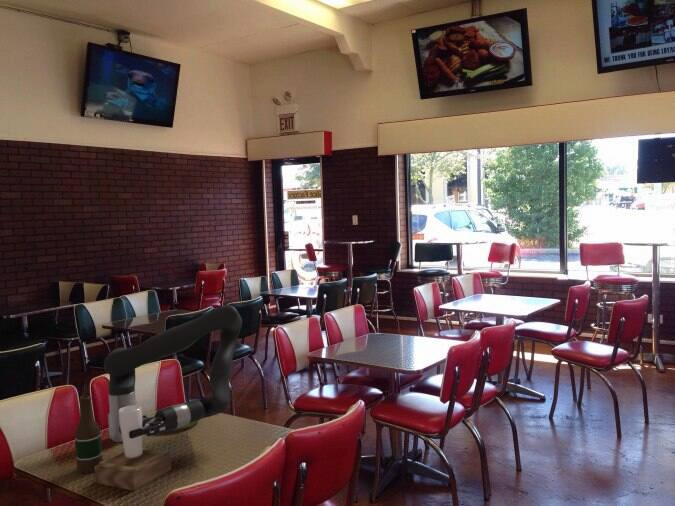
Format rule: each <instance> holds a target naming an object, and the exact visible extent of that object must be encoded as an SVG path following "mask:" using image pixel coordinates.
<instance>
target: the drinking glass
mask: <svg viewBox="0 0 675 506" xmlns="http://www.w3.org/2000/svg"><path fill="white" fill-rule="evenodd" d="M142 416H143V413H142V406H141V405H137V404H136V405H131V406H126V407H123V408H121V409H119V423H120V429H121V434H122V440H123V442H122V443H123V445H122V446H123V451H124V453H125V457H127V458H135V457H138V456H140V455H141V454H142V453H143V449H142V448H143V436H142V435H141V436H138V437H135V438H132V439H131V438H129V432H130V431H132V430H136V429H139V428H141V429H142Z"/></svg>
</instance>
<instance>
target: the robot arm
mask: <svg viewBox="0 0 675 506" xmlns="http://www.w3.org/2000/svg"><path fill="white" fill-rule="evenodd" d="M242 325H243V319H242V317H241V315H240V313H239V311H238V310H237V309H236V307H234V306H233V305H229V304H227V305H222V306H219V307H216V308H215V309H212V310H211V311H210V312H207V313H205V314H203V315H201V316H199V317H198V318H195V319H191V320H189V321H187V322H184V323H181V324H179V325H177V326H173V327H171V328H169V329H166V330H164V331H162V332H159V333H158V334H156V335H154V336H152V337H150V338H148V339H146V340H145V341H144V342H141V343H140V344H138V345H134V346H132V347H129V348H127V347H118V348H115V349H112V351H111V352H109V353H108V355H107V356H106V358H105V360H104V362H103V368H104V369H103V370H104V372H105V373H107V374H108V375H109V382H108V387H107V391H108V392H107V393H108V404H109V413H107V418H108V419H107V420H108V430H109V431H108V432H109V433H108V434H109V439H110V440H111V441H112V442H116V443H123V440H122V434H121V429H120V423H119V409H121V408H123V407H126V406H131V405H137V400H136V398H137V397H136V369H137V368H140V367H141V366H143V365H145V364H146V365H147V364H148V363H151V362H155V361H157V360H161V359H164V358H167V357H169V356H172V355H175V354H178V353H180V352H183V351H184V350H187V349H188V348H191V346H193V345H194V344H195V343H196V342H197V341H198V340H199V339H200V338H202V337H204V336H205V335H207V334H209V333H213V332H214V331H218V330H219V343H218V344H219V345H218V349H217V351H216V353H215V355H214V357H213V359H212V363H211V368H210V374H209V381H208V382H209V383H208V384H209V385H210V387H211V388H212V394H210V395H207V396H205V397H202V398H199V399H194V400H190V401H185V402H183V403H178V404H173V405H170V406H166V407H164V408H160V409H158V410H156V412H155V413H154V414H155V416H154V417H152V416H151V415H150V416H151V417H150V416H147V415H146V414H144V415H142V429H141V428H139V429H136V430H132V431H130V432H129V438H131V439H132V438H135V437H138V436H141V435H142V437H145V436H146V437H148V438H149V437H151V436H155V435H159V434H162V433H163V434H164V433H168V432H172V431H171V430H174V429H177V428H180V427H182V426H185V425H187V424H189V423H192V422H195V421H197V422H198V421H201V420H202V419H206V418H210V417H213V416H217V415H219V414H223V413H224V412H226V411H227V410H228V409H229V406H230V402H231V392H230V391H231V390H230V380H231V371H232V365H233V359H234V353H235V349H236V346H237V341H238V338H239V335H240V332H241V330H242Z"/></svg>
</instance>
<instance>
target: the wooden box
mask: <svg viewBox="0 0 675 506" xmlns="http://www.w3.org/2000/svg"><path fill="white" fill-rule="evenodd" d="M142 449H143V453H142V454H141V455H140V456H138V457H135V458H127V457H125V453H124V450H122V451H120V452H118V453H116V454H114V455H112V456H110V457H108V458H105V459H104V460H103V461H102V462H100V463H99V465H97V466H95V467H94V469H95V472H94V481H95V484H100V485H104V486H105V485H106V486H109V487H114V488H119V489H124V490H127V491H128V490H129V491H133V492H135V491H137V490H139V489H140V488H143V487H145V486H146V485H147V484H149V483H150V482H153V481H154V480H156V479H157V478H159V477H161V476H162V475H164V474H166V473H167V472H169V471H171V470H172V459H171V458H172V456H171V453H167V451H163V450H158V449H152V448H145V447H142Z"/></svg>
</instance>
